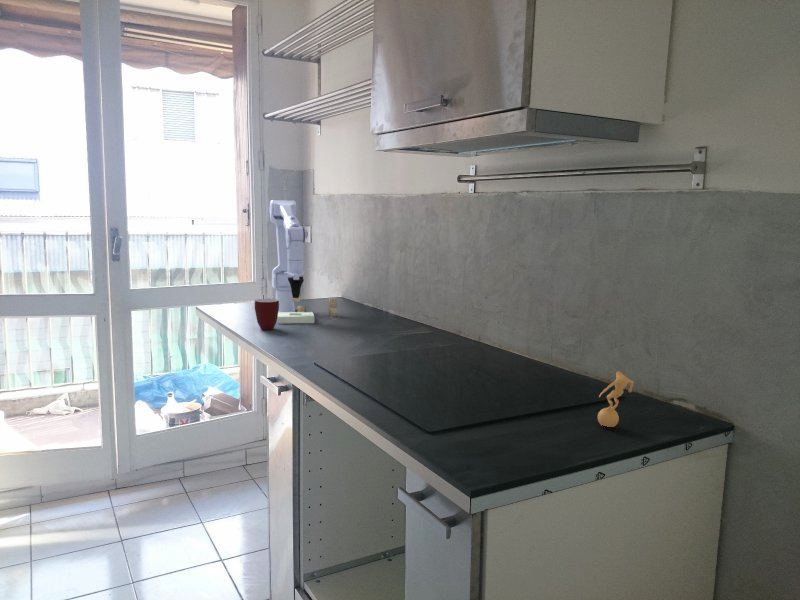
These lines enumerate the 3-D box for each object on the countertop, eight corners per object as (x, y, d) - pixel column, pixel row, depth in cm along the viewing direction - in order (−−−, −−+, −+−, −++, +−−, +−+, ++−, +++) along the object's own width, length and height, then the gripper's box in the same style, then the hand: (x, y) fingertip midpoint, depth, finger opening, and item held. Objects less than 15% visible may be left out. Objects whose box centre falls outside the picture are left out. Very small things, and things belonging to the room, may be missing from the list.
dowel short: (297, 315, 234) (297, 305, 234) (305, 315, 235) (305, 305, 234) (297, 317, 232) (297, 306, 231) (305, 317, 232) (305, 306, 232)
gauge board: (277, 319, 227) (277, 312, 226) (312, 318, 229) (312, 312, 229) (277, 323, 218) (277, 316, 218) (314, 323, 221) (314, 316, 220)
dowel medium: (293, 300, 224) (293, 285, 223) (301, 300, 224) (301, 286, 223) (291, 301, 221) (291, 286, 220) (299, 302, 221) (299, 287, 220)
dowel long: (328, 315, 237) (328, 297, 236) (336, 315, 237) (336, 297, 236) (329, 316, 234) (329, 298, 233) (336, 316, 235) (337, 298, 233)
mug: (250, 326, 212) (249, 298, 210) (272, 324, 215) (272, 297, 214) (258, 332, 202) (258, 302, 201) (282, 330, 206) (282, 301, 205)
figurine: (615, 421, 125) (619, 364, 123) (638, 431, 119) (643, 371, 117) (584, 426, 121) (588, 368, 119) (606, 437, 116) (611, 376, 114)
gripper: (284, 258, 226) (284, 294, 228) (284, 261, 212) (284, 300, 214) (303, 258, 228) (303, 294, 230) (305, 261, 214) (305, 300, 216)
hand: (295, 297), depth 222 cm, fingers closed on dowel medium, 3 cm apart
